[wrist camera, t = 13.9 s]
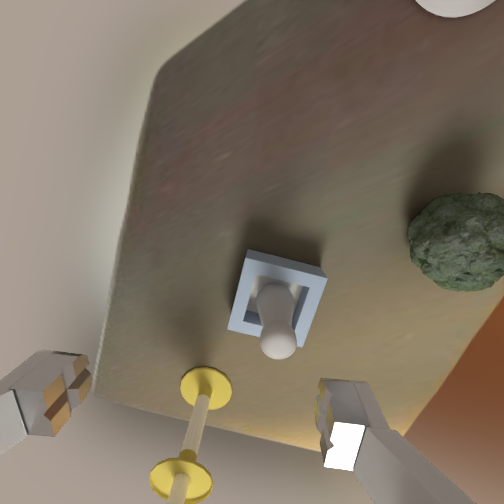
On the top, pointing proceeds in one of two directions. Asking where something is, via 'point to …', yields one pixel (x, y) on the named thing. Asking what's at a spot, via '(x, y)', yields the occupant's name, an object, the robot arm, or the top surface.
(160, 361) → the top surface
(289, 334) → the salt shaker
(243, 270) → the container
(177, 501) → the candle
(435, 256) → the vegetable
